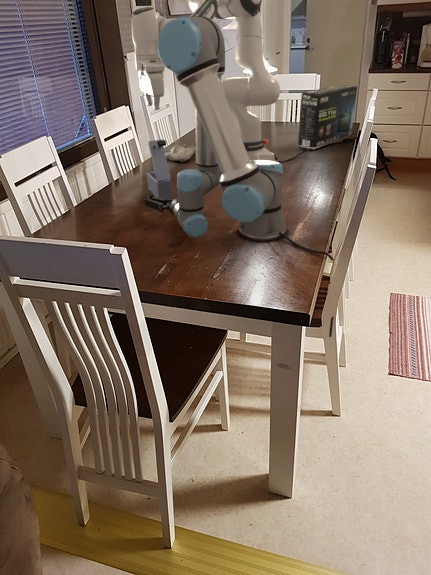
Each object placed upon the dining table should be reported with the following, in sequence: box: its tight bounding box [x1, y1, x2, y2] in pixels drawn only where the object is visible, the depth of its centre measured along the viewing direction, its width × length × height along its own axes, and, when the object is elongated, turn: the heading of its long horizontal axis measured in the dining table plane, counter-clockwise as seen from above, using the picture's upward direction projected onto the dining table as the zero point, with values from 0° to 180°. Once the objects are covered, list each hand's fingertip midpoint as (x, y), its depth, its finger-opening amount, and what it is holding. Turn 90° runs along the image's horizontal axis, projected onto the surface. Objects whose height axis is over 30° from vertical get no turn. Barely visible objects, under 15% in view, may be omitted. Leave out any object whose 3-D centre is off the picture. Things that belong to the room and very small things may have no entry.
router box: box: [297, 84, 358, 151], centre depth 238 cm, size 36×11×27 cm, turn 134°
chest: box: [146, 171, 173, 199], centre depth 179 cm, size 14×5×9 cm, turn 24°
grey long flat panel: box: [147, 139, 171, 181], centre depth 166 cm, size 14×5×8 cm
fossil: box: [164, 142, 196, 163], centre depth 229 cm, size 18×11×15 cm
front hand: (167, 191), depth 168 cm, fingers open, 13 cm apart
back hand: (153, 107), depth 161 cm, fingers open, 8 cm apart
